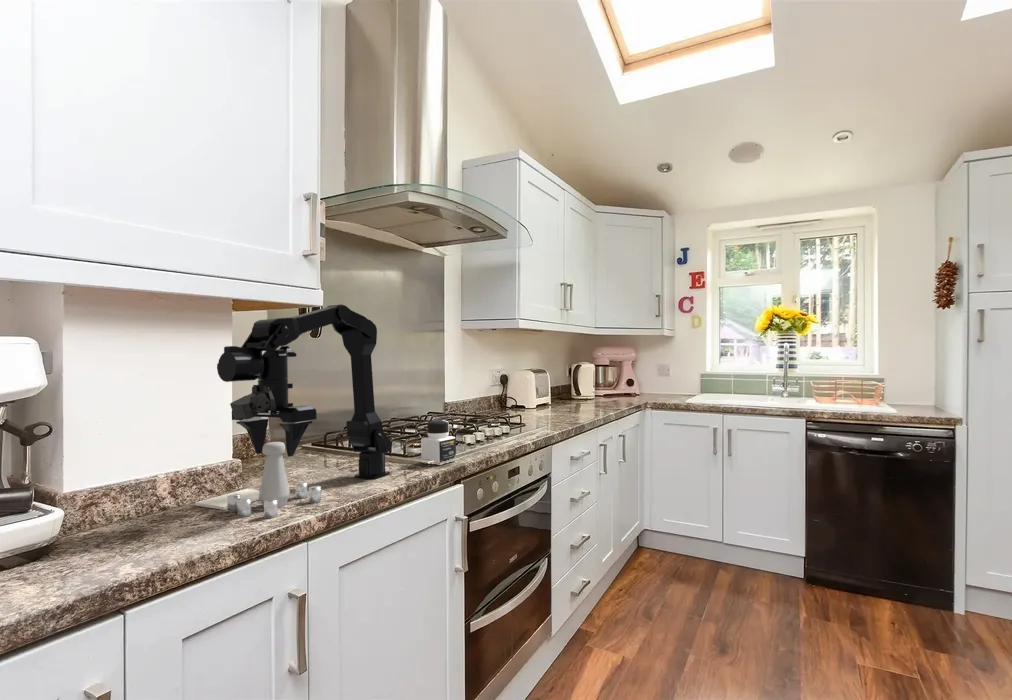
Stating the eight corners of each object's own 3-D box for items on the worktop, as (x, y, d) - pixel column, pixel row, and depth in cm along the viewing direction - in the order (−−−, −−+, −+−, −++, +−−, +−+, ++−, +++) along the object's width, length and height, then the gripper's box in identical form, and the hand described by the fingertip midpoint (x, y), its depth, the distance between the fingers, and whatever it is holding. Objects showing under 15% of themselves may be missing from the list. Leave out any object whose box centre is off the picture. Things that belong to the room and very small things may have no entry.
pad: (246, 491, 118) (246, 488, 118) (273, 495, 115) (273, 492, 115) (195, 505, 108) (195, 502, 108) (223, 509, 104) (223, 506, 104)
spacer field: (285, 493, 116) (285, 479, 116) (328, 498, 110) (328, 484, 110) (217, 513, 101) (217, 498, 101) (263, 521, 96) (263, 505, 96)
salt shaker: (270, 511, 102) (269, 445, 102) (253, 507, 105) (252, 443, 105) (296, 504, 107) (294, 441, 107) (279, 500, 110) (278, 439, 110)
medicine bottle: (440, 466, 142) (439, 422, 142) (420, 463, 146) (420, 421, 146) (456, 461, 148) (455, 419, 148) (437, 459, 152) (436, 418, 152)
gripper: (206, 381, 103) (207, 459, 103) (271, 381, 95) (273, 465, 95) (255, 378, 113) (256, 449, 113) (317, 378, 105) (319, 454, 105)
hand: (274, 454), depth 106 cm, fingers open, 9 cm apart
